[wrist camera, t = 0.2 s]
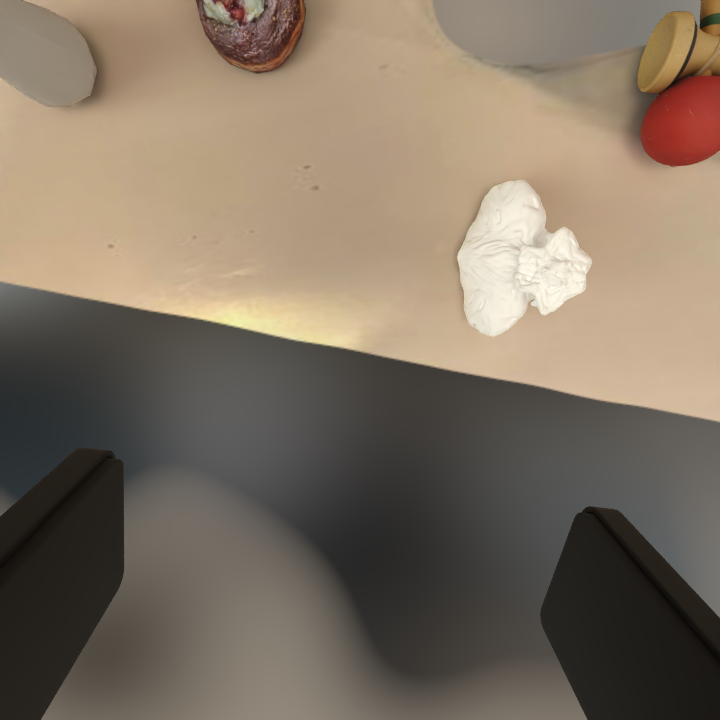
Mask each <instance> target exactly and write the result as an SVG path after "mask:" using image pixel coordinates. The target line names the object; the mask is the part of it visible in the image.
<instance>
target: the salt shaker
mask: <svg viewBox="0 0 720 720" xmlns="http://www.w3.org/2000/svg"><path fill="white" fill-rule="evenodd" d="M96 74H97V68H96V66H95V64H94V61H93V59H92V56H91V53H90V50H89V48H88V45H87V42H86V40H85V39H84V38H83V37H82V36H81V34H80V33H79V32H78V31H77V30H76V29H75V27H74V26H73V25H72V24H71V23H70V22H69V21H68V20H67V19H66V18H64V17H62V16H60V15H58V14H56V13H54V12H52V11H50V10H48V9H46V8H43V7H40V6H37V5H34V4H32V3H29V2H26V1H23V0H0V77H1V78H2V79H4V80H5V81H6V82H8V83H9V84H11V85H12V86H13V87H15V88H16V89H17V90H19V91H20V92H22V93H23V94H24V95H26V96H27V97H29V98H31V99H33V100H35V101H37V102H39V103H41V104H43V105H45V106H49V107H70V106H72V105H73V104H75V103H77V102H79V101H80V100H82V99H84V98H86V97H88V96H91V93H92V89H93V85H94V82H95V78H96Z"/></svg>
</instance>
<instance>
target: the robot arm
mask: <svg viewBox="0 0 720 720" xmlns="http://www.w3.org/2000/svg"><path fill="white" fill-rule="evenodd" d="M123 482H124V479H123V462H122V461H121V460H118V459H115V455H114V453H113V452H112V451H107V450H98V449H90V448H78V449H76V450H75V451H74V452H73V453H71V454H70V455H69V456H68V457H67V458H66V459H65V460H64V461H62V462H61V463H60V464H59V465H58V466H57V467H56V468H55V469H53V470H52V471H51V472H50V473H49V474H48V475H47V476H46V477H44V478H43V479H42V480H41V481H40V482H39V483H38V484H36V485H35V486H34V487H33V488H32V489H31V490H30V491H28V492H27V493H26V494H25V495H24V496H23V497H22V498H21V499H19V500H18V501H17V502H16V503H15V504H14V505H13V506H12V507H10V508H9V509H8V510H7V511H6V512H5V513H4V514H3V515H2V516H0V720H41V718H42V717H43V715H44V713H45V712H46V710H47V708H48V707H49V705H50V703H51V702H52V700H53V698H54V696H55V695H56V693H57V691H58V690H59V688H60V686H61V685H62V683H63V681H64V679H65V678H66V676H67V675H68V673H69V671H70V670H71V668H72V666H73V665H74V663H75V661H76V660H77V658H78V656H79V655H80V653H81V651H82V649H83V648H84V646H85V644H86V643H87V641H88V639H89V638H90V636H91V634H92V633H93V631H94V629H95V628H96V626H97V624H98V623H99V621H100V619H101V618H102V616H103V614H104V613H105V611H106V609H107V608H108V606H109V604H110V602H111V601H112V599H113V597H114V596H115V594H116V592H117V590H118V589H119V587H120V584H121V581H122V578H123V573H124V484H123ZM540 616H541V623H542V627H543V629H544V631H545V633H546V635H547V637H548V639H549V642H550V643H551V646H552V648H553V650H554V652H555V654H556V656H557V658H558V660H559V662H560V664H561V666H562V668H563V670H564V672H565V674H566V676H567V678H568V681H569V683H570V685H571V687H572V689H573V691H574V693H575V695H576V697H577V699H578V701H579V703H580V705H581V707H582V709H583V711H584V713H585V715H586V717H587V719H588V720H720V618H719V617H718V616H717V615H716V614H715V612H714V611H713V610H712V609H711V608H710V607H709V606H708V605H707V604H706V603H705V602H704V601H703V600H702V599H701V598H700V596H699V595H698V594H696V592H695V591H694V590H693V589H692V588H691V587H690V586H689V585H688V584H687V583H686V582H685V580H684V579H682V577H681V576H680V575H679V574H678V573H677V572H676V571H675V570H674V569H673V568H672V567H671V566H670V564H669V563H667V561H666V560H665V559H664V558H663V557H662V556H661V555H660V554H659V553H658V552H657V551H656V550H655V549H654V547H653V546H652V545H651V544H650V543H649V542H648V541H647V540H646V539H645V538H644V537H643V536H642V535H641V534H640V533H639V531H637V529H635V527H634V526H633V525H632V524H631V523H630V522H629V521H628V520H627V519H626V518H625V517H624V515H623V514H622V513H620V512H619V511H618V510H615V509H608V508H599V507H586V508H585V509H584V510H583V511H582V512H581V513H578V514H577V515H576V516H575V518H574V521H573V523H572V526H571V529H570V532H569V534H568V537H567V540H566V542H565V545H564V548H563V551H562V553H561V556H560V559H559V562H558V564H557V567H556V570H555V572H554V575H553V578H552V580H551V583H550V586H549V588H548V591H547V594H546V597H545V599H544V602H543V605H542V608H541V615H540Z"/></svg>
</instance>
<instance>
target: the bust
mask: <svg viewBox="0 0 720 720" xmlns="http://www.w3.org/2000/svg"><path fill="white" fill-rule="evenodd" d="M545 222H546V213H545V210H544V208H543V206H542V203H541V199H540V197H539V195H538V194H537V193H536V192H535V191H534V190H533V188H532V187H531V186H530V185H529V183H528V182H527V181H526V180H523V179H521V180H517V181H507V182H505V183H503V184H498V185H496V186H494V187H493V188H491V189H490V191H489V192H488V193H487V194H486V196H485V197H484V199H483V201H482V203H481V207H480V210H479V213H478V215H477V218H476V220H475V221H474V222H473V224H472V225H471V226H470V228H469V230H468V232H467V234H466V238H465V241H464V243H463V244H462V246H461V249H460V251H459V252H458V257H457V260H458V264H459V268H460V282H461V285H462V288H463V290H464V311H465V314H466V316H467V321H468V322H469V324H470V325H471V326H473V327H475V328H477V329H478V331H479V332H480V333H483V334H487V335H488V336H490V337H495V336H498V335H500V334H502V333H503V332H505V331H507V330H508V329H509V328H510V327H511V326H513V325H514V324H515V323H516V322H517V321H518V320H519V319H520V318H521V317H522V316H523V315H524V313H525V311H526V310H527V303H528V302H529V301H530V300H532V299H534V298H535V300H533V301H532V302H531V306H533V307H537V308H538V309H539V311H540V313H541V314H542V315H543V316H546V315H547V314H548V313H552V312H554V311H555V310H556V309H558V308H559V307H560V306H561V305H562V304H563V303H564V302H565V300H567V299H569V298H571V297H574V296H577V295H579V294H581V293H582V292H583V291H584V290H585V288H586V274H587V272H588V270H589V268H590V267H591V264H592V260H591V258H590V257H589V256H588V255H587V254H586V253H585V252H583V251H582V250H581V249H580V248H579V247H578V246H579V245H578V242H577V240H576V238H575V236H574V234H573V233H572V231H570V230H568V229H567V228H566V227H562V228H560V229H559V230H558V231H557V232H556V233H549V231H548V230H547V229H546V228H545Z"/></svg>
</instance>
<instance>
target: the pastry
mask: <svg viewBox="0 0 720 720" xmlns="http://www.w3.org/2000/svg"><path fill="white" fill-rule="evenodd" d="M196 2H197V6H198V11H199V15H200V20H201V23H202V25H203V28H204V31H205V34H206V35H207V37H208V38H209V40H210V41H211V43H212V44H213V46H214V47H215V48H216V50H217V51H218V53H219V54H220V55H221V56H222V57H223V58H224V59H226V60H227V61H228V62H229V63H230V64H232V65H235V66H238V67H240V68H243V69H246V70H249V71H252V72H255V73H262V72H267V71H272V70H274V69H275V68H277V67H279V66H281V65H282V64H283V63H284V62H285V61H286V59H287V58H288V57H289V56H290V54H291V53H292V52H293V50H294V48H295V47H296V45H297V43H298V41H299V39H300V37H301V35H302V30H303V24H304V19H305V13H306V9H305V4H304V0H196Z"/></svg>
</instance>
